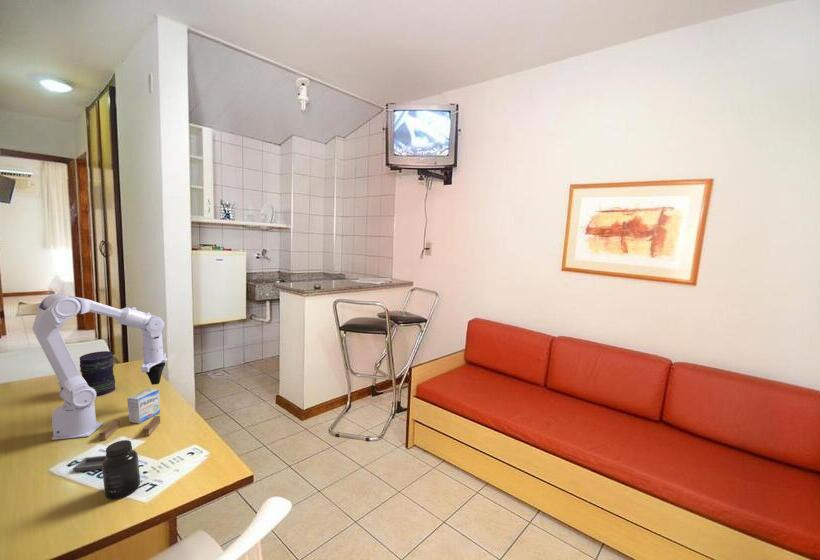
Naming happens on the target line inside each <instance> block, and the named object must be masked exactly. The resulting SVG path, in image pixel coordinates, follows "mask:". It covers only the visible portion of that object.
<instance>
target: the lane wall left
mask: <svg viewBox="0 0 820 560" xmlns="http://www.w3.org/2000/svg"><path fill="white" fill-rule="evenodd" d="M119 428H121V420H120V419H117V418H116V419H113V420H112V421H111V422H110V423H109V424H108V425H106V426H105V428H104V429H102V430H101V431H100V432H99V441H100V442H103V441H107V440H108V439H109V438H110V437H111V436H112V435H113V434H114V433H115V432H116V431H117V430H118V429H119Z"/></svg>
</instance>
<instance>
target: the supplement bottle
mask: <svg viewBox="0 0 820 560" xmlns="http://www.w3.org/2000/svg"><path fill="white" fill-rule="evenodd" d="M105 456H106V457H107V458H105V460H104V461H103V463H102V469H101V471H102V480H103V490H104V495H105V497H106V498H107V499H109V500H117V499H118V500H119V499H123V498H124V497H125V498H126V497H128V496H129V495H131V494H133V493H134V492H135V491H137V490H138V488H139V487H140V485H141V475H140V474H141V473H140V465H139V456H138V453H137V451H136V450H135V449H133V445H132V442H131V440H129V439H124V440H119V441H116V442H113V443H111V444H109V445H108V446H107V447H106V448H105Z"/></svg>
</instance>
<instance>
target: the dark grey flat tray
mask: <svg viewBox="0 0 820 560" xmlns="http://www.w3.org/2000/svg"><path fill="white" fill-rule="evenodd" d="M105 458H107V457H106V455H100V456H98V455H97V456H90V457H89V456H88V457H84V458H83V459H82V460H81V461H79V463H78V464H77V465H76V466H75V467H74V473H80V472H79V471H82V472H90V471H89V470H91V471H95V470H94V469H100V470H102V463H103V461H104V460H105Z"/></svg>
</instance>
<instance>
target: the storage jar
mask: <svg viewBox="0 0 820 560" xmlns="http://www.w3.org/2000/svg"><path fill="white" fill-rule="evenodd" d="M113 355H114V354H113V352H112V351H109V350H108V351H107V350H105V351H104V350H103V351H95V352H89V353H85V354H83V355H81V356H79V368H80V369H79V372H80V374H81V376H82V377H83V378H84V380H85V381H86V382H87V384H88V386H89V387H91V388H93V389H94V390H95V391H96V398H97V397H102V396H105V395H109V394H111V393H113V392H115V390H116V378H115V374H114V365H115V364H114V356H113Z"/></svg>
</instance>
